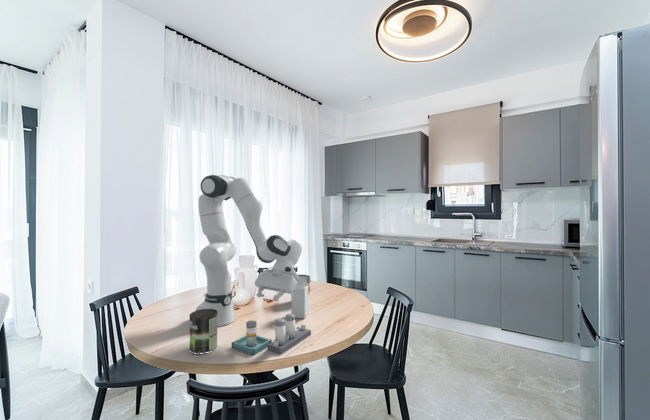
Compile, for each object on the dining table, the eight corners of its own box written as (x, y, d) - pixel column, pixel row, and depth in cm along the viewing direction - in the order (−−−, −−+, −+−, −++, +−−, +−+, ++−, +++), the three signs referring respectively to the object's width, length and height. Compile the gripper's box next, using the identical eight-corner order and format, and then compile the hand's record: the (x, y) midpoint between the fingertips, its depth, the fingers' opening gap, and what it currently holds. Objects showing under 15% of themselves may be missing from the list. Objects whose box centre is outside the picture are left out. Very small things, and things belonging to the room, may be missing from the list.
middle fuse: (283, 337, 120) (283, 316, 120) (289, 334, 123) (289, 313, 123) (291, 340, 118) (291, 317, 118) (297, 336, 121) (297, 314, 121)
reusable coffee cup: (302, 307, 164) (302, 280, 163) (285, 303, 170) (284, 277, 170) (314, 301, 174) (314, 276, 174) (298, 297, 181) (297, 273, 181)
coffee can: (195, 358, 108) (195, 320, 108) (185, 348, 115) (185, 313, 115) (222, 348, 115) (222, 313, 115) (211, 340, 122) (211, 306, 122)
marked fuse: (244, 345, 116) (244, 323, 116) (251, 341, 120) (251, 319, 120) (251, 348, 114) (251, 325, 114) (258, 344, 117) (258, 321, 117)
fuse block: (267, 349, 114) (267, 339, 114) (298, 331, 131) (298, 322, 131) (281, 354, 110) (281, 343, 110) (310, 334, 127) (310, 325, 127)
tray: (231, 347, 116) (231, 342, 116) (250, 338, 124) (250, 333, 124) (253, 355, 109) (253, 349, 109) (271, 344, 118) (271, 339, 118)
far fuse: (273, 344, 114) (272, 321, 114) (279, 340, 118) (279, 317, 118) (281, 346, 112) (280, 323, 112) (287, 342, 116) (287, 319, 116)
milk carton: (304, 318, 146) (304, 281, 146) (291, 317, 147) (291, 280, 147) (308, 313, 153) (308, 277, 153) (295, 313, 154) (295, 277, 154)
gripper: (261, 265, 136) (245, 290, 128) (296, 269, 126) (281, 298, 117) (267, 272, 140) (252, 298, 132) (302, 278, 129) (288, 306, 121)
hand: (266, 298), depth 124 cm, fingers open, 8 cm apart
